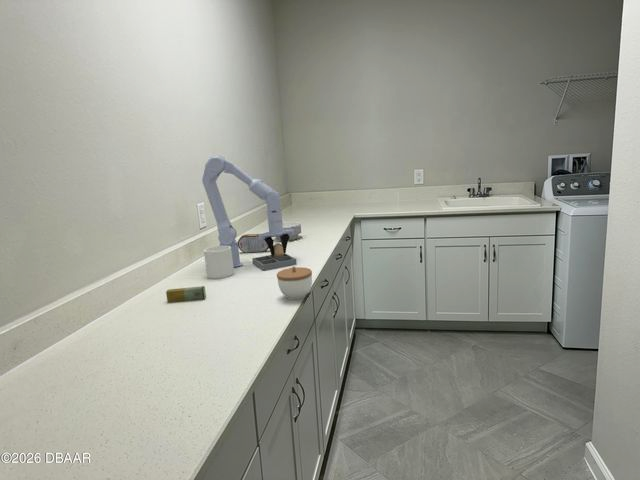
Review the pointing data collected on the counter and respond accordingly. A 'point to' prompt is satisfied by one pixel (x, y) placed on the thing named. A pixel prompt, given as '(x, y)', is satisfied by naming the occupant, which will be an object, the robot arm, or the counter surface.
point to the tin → (252, 244)
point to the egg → (278, 251)
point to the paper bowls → (291, 225)
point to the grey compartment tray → (273, 262)
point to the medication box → (186, 294)
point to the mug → (219, 262)
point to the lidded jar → (295, 282)
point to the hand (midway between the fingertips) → (278, 253)
